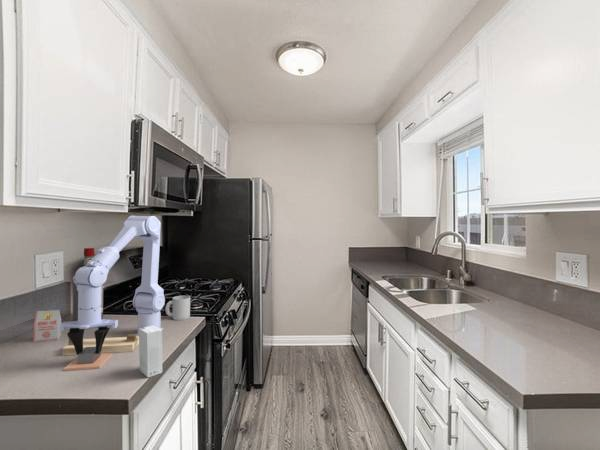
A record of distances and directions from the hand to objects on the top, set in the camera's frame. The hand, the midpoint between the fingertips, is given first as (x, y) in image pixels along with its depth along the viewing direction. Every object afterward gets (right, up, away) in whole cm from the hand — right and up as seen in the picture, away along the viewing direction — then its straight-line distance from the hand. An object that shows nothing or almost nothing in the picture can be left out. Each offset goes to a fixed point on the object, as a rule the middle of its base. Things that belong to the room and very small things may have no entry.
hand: (89, 353), depth 92 cm
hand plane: (-2, -3, +10) cm, 10 cm away
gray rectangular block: (0, -2, 0) cm, 2 cm away
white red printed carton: (-26, -2, +17) cm, 31 cm away
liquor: (-27, -2, +38) cm, 47 cm away
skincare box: (+20, -4, -5) cm, 21 cm away
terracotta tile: (0, -3, 0) cm, 3 cm away
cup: (+9, -3, +43) cm, 44 cm away
